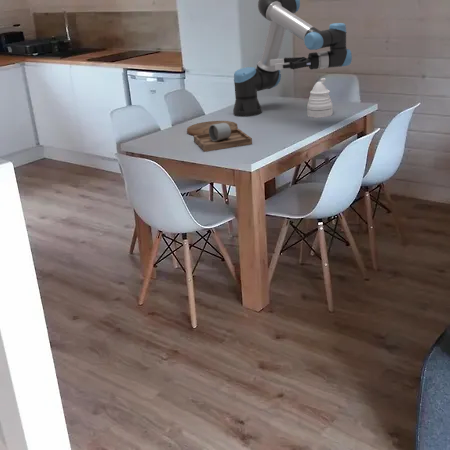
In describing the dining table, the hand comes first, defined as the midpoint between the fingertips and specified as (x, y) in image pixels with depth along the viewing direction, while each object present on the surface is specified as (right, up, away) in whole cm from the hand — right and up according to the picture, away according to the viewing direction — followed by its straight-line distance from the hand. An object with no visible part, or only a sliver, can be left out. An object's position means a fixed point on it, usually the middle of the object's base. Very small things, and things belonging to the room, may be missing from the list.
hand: (272, 64), depth 292 cm
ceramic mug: (-25, -35, -3) cm, 43 cm away
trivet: (-28, -28, +19) cm, 44 cm away
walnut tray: (-23, -37, -5) cm, 44 cm away
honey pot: (+27, -18, +31) cm, 45 cm away
